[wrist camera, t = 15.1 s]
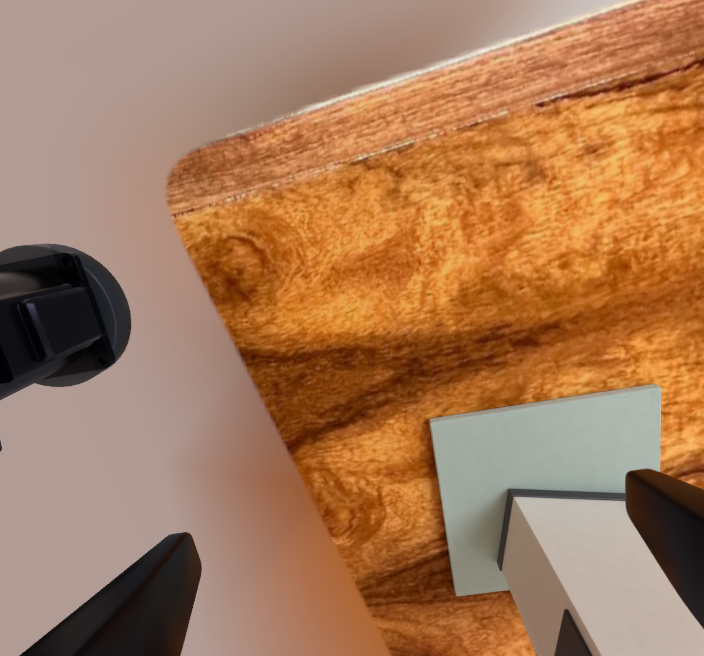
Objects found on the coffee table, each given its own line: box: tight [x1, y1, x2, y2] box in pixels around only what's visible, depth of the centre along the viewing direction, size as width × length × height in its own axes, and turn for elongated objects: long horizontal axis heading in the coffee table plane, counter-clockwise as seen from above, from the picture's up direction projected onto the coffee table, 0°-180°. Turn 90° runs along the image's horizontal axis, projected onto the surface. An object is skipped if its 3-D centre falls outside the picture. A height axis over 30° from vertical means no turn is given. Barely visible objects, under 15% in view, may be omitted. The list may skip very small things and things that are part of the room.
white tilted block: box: [497, 488, 704, 656], centre depth 17 cm, size 5×7×12 cm
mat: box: [429, 384, 661, 596], centre depth 23 cm, size 12×12×1 cm
